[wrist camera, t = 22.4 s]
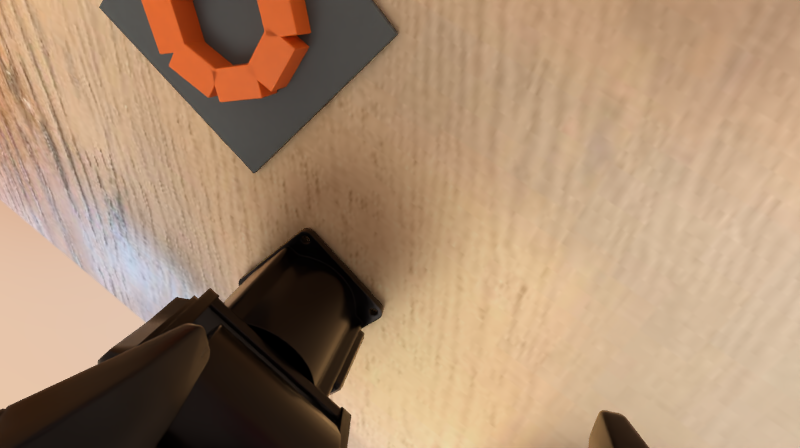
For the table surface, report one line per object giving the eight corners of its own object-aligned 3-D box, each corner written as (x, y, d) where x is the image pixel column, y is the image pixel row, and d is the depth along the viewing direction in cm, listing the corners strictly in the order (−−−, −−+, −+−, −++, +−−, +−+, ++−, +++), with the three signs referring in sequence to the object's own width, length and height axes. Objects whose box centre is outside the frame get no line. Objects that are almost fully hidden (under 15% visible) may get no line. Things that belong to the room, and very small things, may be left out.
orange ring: (148, 30, 19) (124, 31, 18) (200, -121, 16) (175, -132, 15) (265, 124, 20) (249, 131, 19) (337, -1, 17) (323, -2, 15)
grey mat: (104, 7, 19) (98, 7, 19) (219, -201, 15) (214, -205, 15) (256, 171, 21) (253, 173, 21) (398, 33, 17) (396, 34, 17)
